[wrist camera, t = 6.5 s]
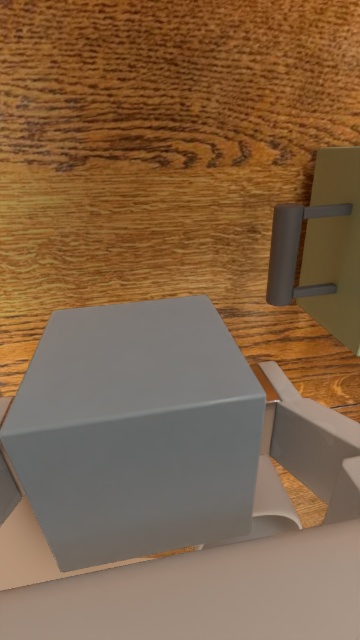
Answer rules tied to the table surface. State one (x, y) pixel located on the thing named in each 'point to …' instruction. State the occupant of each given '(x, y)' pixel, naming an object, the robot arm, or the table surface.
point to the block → (136, 431)
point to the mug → (266, 507)
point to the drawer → (323, 248)
